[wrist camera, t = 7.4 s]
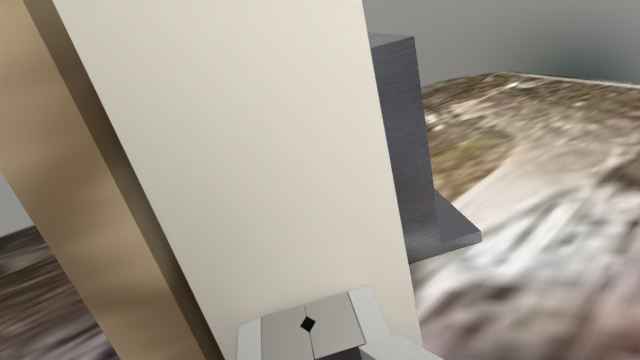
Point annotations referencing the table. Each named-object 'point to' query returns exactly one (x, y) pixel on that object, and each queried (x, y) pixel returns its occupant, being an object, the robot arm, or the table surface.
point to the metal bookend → (413, 154)
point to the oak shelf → (89, 193)
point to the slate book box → (254, 148)
